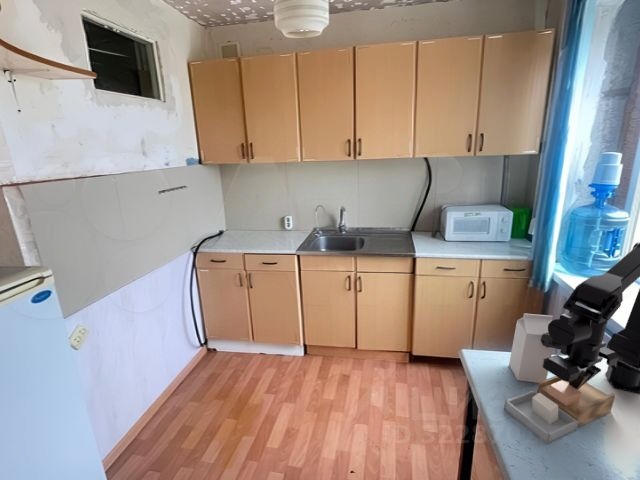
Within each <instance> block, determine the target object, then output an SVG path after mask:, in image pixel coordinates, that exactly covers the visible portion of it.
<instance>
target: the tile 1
mask: <svg viewBox="0 0 640 480" xmlns="http://www.w3.org/2000/svg"><path fill="white" fill-rule="evenodd" d="M532 408H533V411H534V412H535V413H536V414H537V415H539V416H540V417H541V418H543V419H544V420H545V421H547V422H548V423H549V424H552V423H553V422H555V421H556V420H558V405H557V404H555V403H554V402H553V401H551V400H550V399H548V398H547V397H545V396H544V395H543V394H541V393H538V394H537V395H535V396H534V397H532Z"/></svg>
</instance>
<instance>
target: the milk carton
mask: <svg viewBox="0 0 640 480" xmlns="http://www.w3.org/2000/svg"><path fill="white" fill-rule="evenodd" d="M553 317H554V316H553V315H548V314H547V315H545V314H532V313H523V317H521V318H519V319H517V320H516V324H515V329H514V330H515V332H514V334H513V335H514V336H513V342H512V346H511V352H510V357H509V363H508V365H509V367H510V368H511V371H512V373H513V374H514V376H515V378H516V380H517V381H520V382H521V381H522V382H527V383H528V382H529V383H536V384H538V383H539V382H540V381H543V380H546V379H548V378H547V377H548V373H549V371H547V370H546V369H544V368H543V367H542V364H543V360H544V359H546V358H549V357H552V356H553V352H554V351H553V350H554V348H551V347H550V348H547V347H545V346H543V345H542V343H541V341H540V339H541V337H542V335H543V333H548V324H550V322H551V321H552V320H554V319H553Z"/></svg>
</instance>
